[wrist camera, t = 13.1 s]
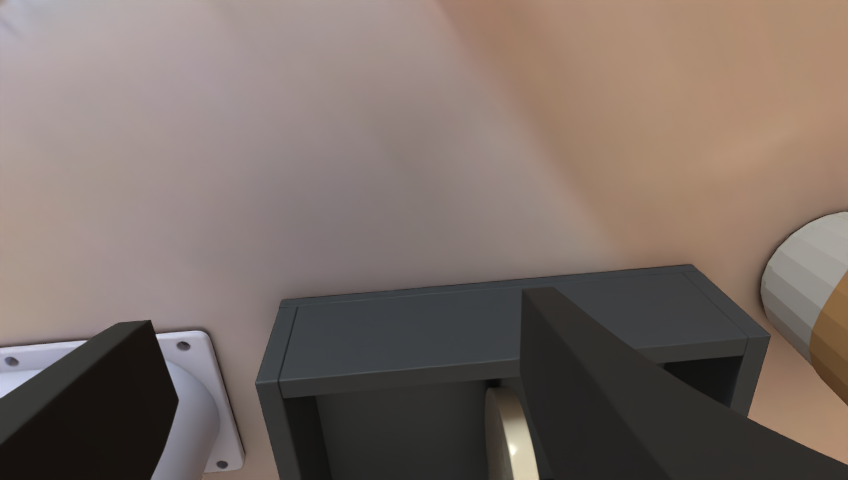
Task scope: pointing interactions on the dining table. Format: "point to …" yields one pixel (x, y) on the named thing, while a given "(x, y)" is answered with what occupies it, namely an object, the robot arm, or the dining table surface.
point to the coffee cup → (813, 296)
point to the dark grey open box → (470, 367)
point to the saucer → (507, 437)
